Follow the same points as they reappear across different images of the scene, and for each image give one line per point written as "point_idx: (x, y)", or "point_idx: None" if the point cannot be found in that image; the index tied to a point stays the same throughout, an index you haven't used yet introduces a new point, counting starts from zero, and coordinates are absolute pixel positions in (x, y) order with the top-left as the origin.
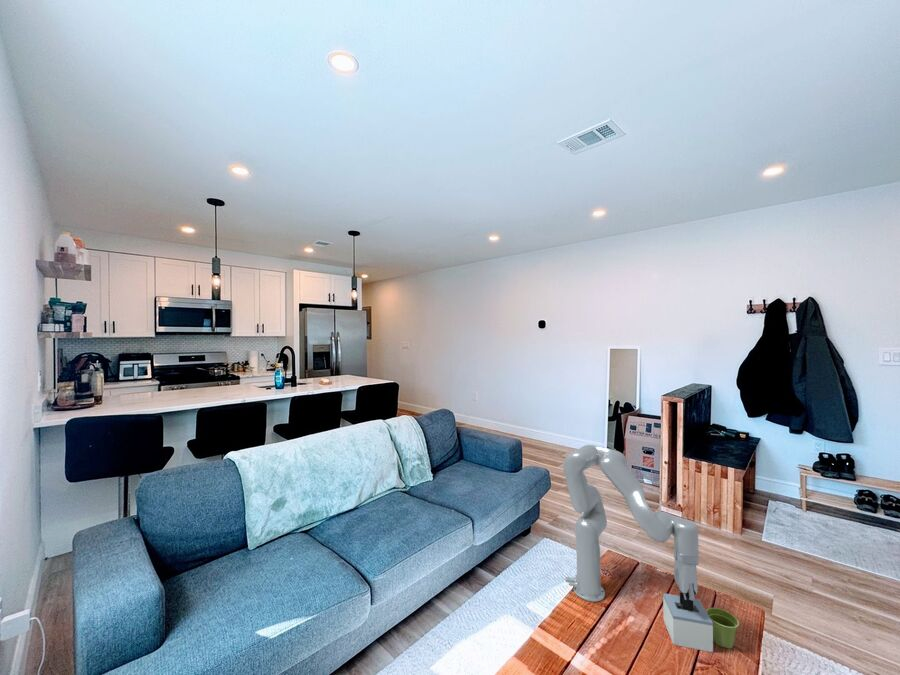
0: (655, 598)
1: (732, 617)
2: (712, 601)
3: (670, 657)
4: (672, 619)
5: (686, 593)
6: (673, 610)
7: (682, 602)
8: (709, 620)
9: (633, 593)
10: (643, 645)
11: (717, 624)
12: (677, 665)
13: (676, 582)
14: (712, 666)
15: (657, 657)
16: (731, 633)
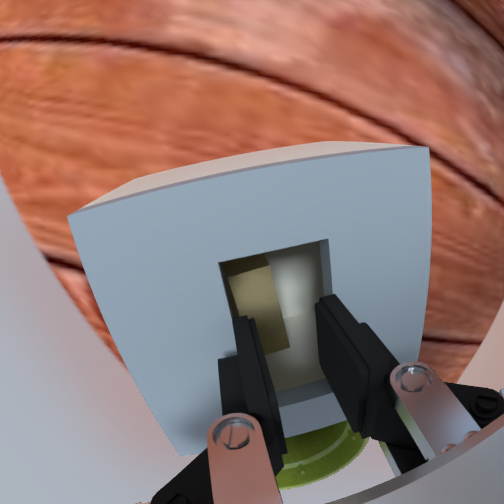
0: (458, 134)
1: (324, 468)
2: (469, 340)
3: (44, 165)
4: (109, 197)
5: (368, 422)
6: (159, 221)
7: (321, 323)
8: (193, 447)
9: (449, 41)
10: (67, 46)
11: None
12: (18, 196)
13: (472, 454)
14: (96, 328)
15: (21, 113)
16: None
